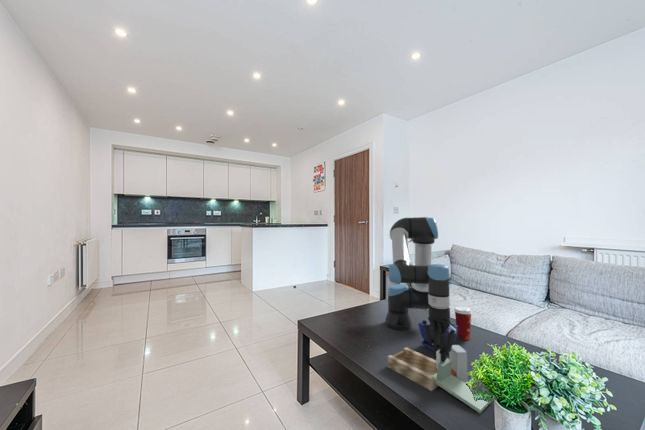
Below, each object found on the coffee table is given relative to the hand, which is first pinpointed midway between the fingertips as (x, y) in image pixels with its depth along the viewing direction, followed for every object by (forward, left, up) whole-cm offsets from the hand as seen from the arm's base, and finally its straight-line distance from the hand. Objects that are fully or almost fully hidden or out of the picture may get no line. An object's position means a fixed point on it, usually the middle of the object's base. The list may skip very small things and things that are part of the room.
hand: (440, 368), depth 100 cm
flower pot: (-16, +26, -6) cm, 31 cm away
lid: (+7, 0, -5) cm, 8 cm away
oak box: (-10, 0, -6) cm, 12 cm away
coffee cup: (-14, +47, -6) cm, 49 cm away
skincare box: (+2, +9, -6) cm, 11 cm away
